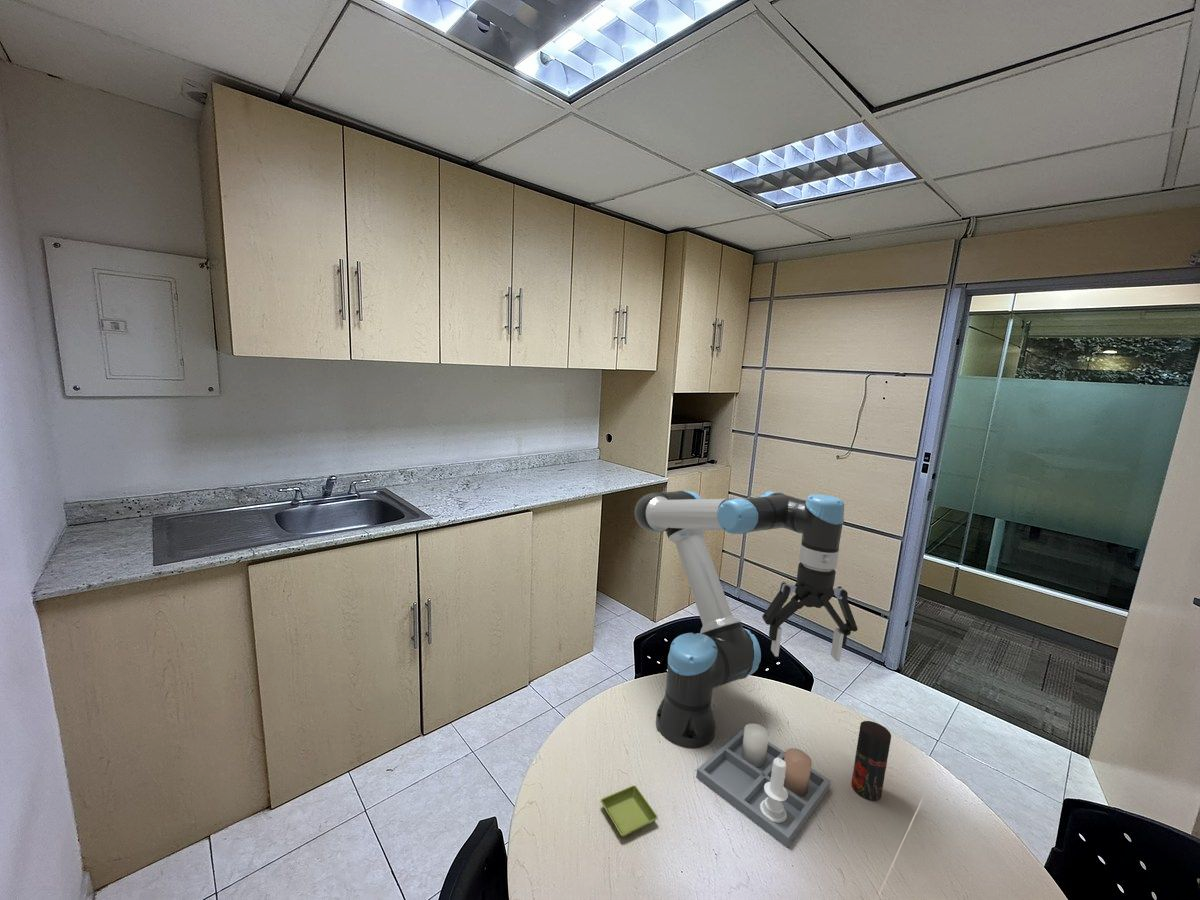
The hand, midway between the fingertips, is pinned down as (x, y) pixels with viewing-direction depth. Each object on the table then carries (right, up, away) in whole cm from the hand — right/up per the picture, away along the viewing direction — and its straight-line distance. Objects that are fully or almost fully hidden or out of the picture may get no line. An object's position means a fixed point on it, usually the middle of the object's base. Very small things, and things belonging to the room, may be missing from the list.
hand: (804, 655), depth 106 cm
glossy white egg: (-10, -27, +6) cm, 29 cm away
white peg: (-10, -29, -8) cm, 32 cm away
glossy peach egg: (-3, -29, -1) cm, 29 cm away
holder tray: (-10, -28, -1) cm, 30 cm away
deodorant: (+13, -30, -1) cm, 33 cm away
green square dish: (-41, -28, -11) cm, 51 cm away
